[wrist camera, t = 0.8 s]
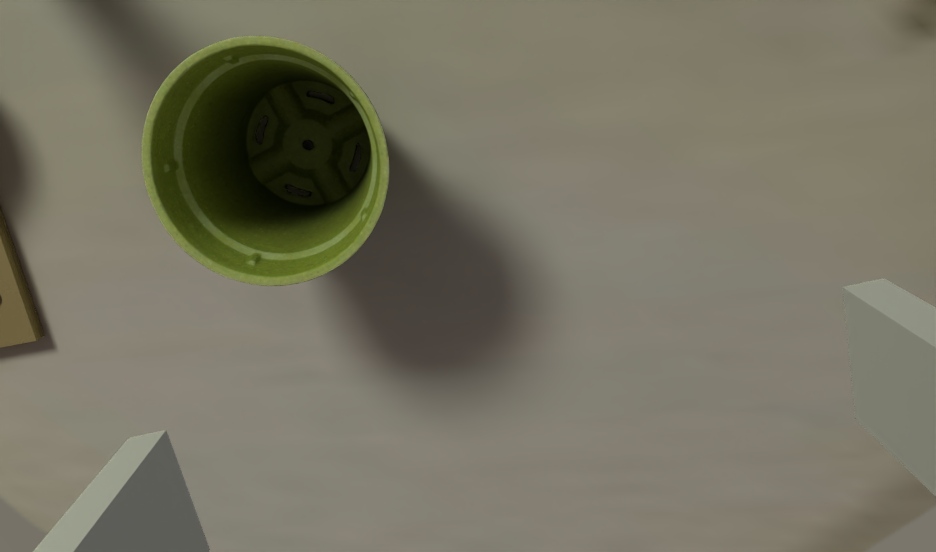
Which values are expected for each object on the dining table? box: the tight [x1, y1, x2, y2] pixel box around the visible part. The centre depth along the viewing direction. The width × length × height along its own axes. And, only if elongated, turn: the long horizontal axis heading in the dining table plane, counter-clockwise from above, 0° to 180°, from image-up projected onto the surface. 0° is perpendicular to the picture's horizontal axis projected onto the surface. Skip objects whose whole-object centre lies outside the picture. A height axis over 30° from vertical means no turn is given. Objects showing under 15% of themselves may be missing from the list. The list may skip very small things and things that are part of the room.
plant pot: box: [141, 36, 389, 286], centre depth 34 cm, size 9×9×9 cm
